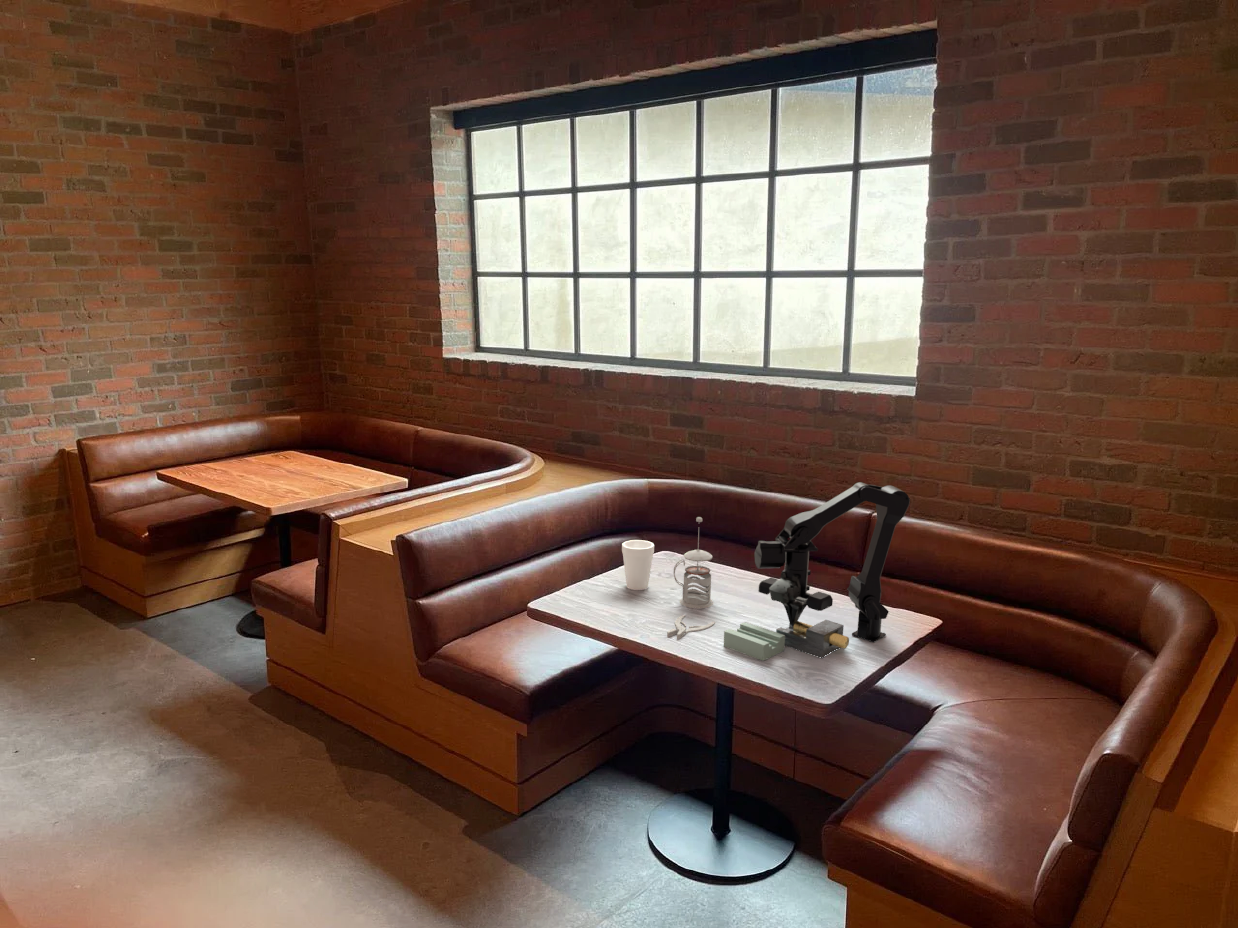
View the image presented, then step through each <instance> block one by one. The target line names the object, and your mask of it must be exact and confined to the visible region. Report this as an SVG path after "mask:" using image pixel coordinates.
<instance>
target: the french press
mask: <svg viewBox="0 0 1238 928" xmlns="http://www.w3.org/2000/svg"><path fill="white" fill-rule="evenodd" d="M695 519H696V520H695V521H696V523H697V522H698V523H702V522H703V518H702V517H701V516H697V517H696V518H695ZM697 532H698V535H697V536H698V537H697V549H694V550H693V549H692V550H689V551H687V552H686V553H683V558H684V559H681V560H679V561H677V562H676V563H675V565H674V568H673V577H674V578H673V579H674V581H675V583H676V584H677V585H679V586H680V587H682V597H681V598H680V599H679V604H680V605H681V606H683V607H685V608H690V609H697V610H699V609H706V608H711V607H713V606H714V603H715V602H714V601H713V599H712V598H711V593H712V592H711V591H712V590H711V588H712V574H711V573H710V572H711V569H710V568H709V567H706V566H703V565H699V562H708V561H711V560H712V559H713V555H712V554H711V553H710V552H708V551H706V550H702V549H699V547H700V545H699V544H700V542H699V541H700V528H698V531H697ZM685 560H688V561H691V562H697V564H696V565H689V566H686V567H685V565H686V562H685ZM681 563H683V566H684V567H685V569H684V571H685V572H684V573H683V583H682V582H681V581H678V579H677V577H676V569H677V567H678V566H679V565H680V564H681ZM691 575H692V576H691ZM700 577H701V578H700ZM692 583H693V584H692ZM690 588H691V589H690Z"/></svg>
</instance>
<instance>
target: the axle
mask: <svg viewBox="0 0 1238 928" xmlns="http://www.w3.org/2000/svg"><path fill="white" fill-rule="evenodd" d="M812 626H813V625H812V624H808V623H805V622H803V621H799V620H798V621H796V622H795V624H794V627H793V631H794V632H797V633H800V634H803V635H806V629H808V628H810V627H812ZM849 643H850V637H849V636H846V635H844V634H843V635H841V634H837V633H834V632H833V633H832V634H830V639H829V644H831V645H834V646H838V647H841V648H840V649H843V650H845V649H847V648H848V646H849Z"/></svg>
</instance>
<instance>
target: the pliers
mask: <svg viewBox="0 0 1238 928" xmlns="http://www.w3.org/2000/svg"><path fill="white" fill-rule="evenodd" d="M685 617H686V614H682V615H680V616H679V617H677V618H676V619H675V622H674V626H675V628H672V629H670V630H668V631H667V634H666V636H667V637H668V638H669V637H672V636H675V635H676V640H680V639H681V638H682V637H683V636H684V635H685V634H688V633H692V632H699V631H700V632H701V631H704V630H707V629H710V628H712V627H713V626H714V625H715V623H716V621H712V622H709V623H708V624H705V625H693V626H692V625H691V626H689V627H688V628H686V627H687V625H686V623H685V622H684V621H682V620H683V619H684V618H685ZM681 623H682V624H681Z"/></svg>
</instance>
